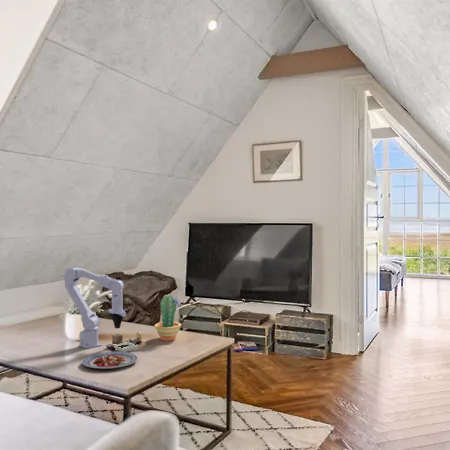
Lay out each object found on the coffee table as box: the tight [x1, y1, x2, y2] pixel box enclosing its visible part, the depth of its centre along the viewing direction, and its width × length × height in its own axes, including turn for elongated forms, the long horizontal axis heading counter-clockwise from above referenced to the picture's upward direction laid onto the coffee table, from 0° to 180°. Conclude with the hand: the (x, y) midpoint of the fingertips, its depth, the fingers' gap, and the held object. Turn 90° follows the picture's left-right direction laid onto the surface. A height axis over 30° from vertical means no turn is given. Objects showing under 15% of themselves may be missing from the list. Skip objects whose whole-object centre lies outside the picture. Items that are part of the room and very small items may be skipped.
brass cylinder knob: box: [128, 331, 142, 342], centre depth 263 cm, size 8×3×4 cm, turn 135°
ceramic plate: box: [81, 351, 138, 370], centre depth 227 cm, size 26×26×3 cm
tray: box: [112, 341, 139, 353], centre depth 250 cm, size 9×9×2 cm
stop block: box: [111, 333, 124, 344], centre depth 257 cm, size 4×4×6 cm
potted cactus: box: [154, 294, 182, 342], centre depth 273 cm, size 15×15×25 cm
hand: (117, 328), depth 257 cm, fingers closed
